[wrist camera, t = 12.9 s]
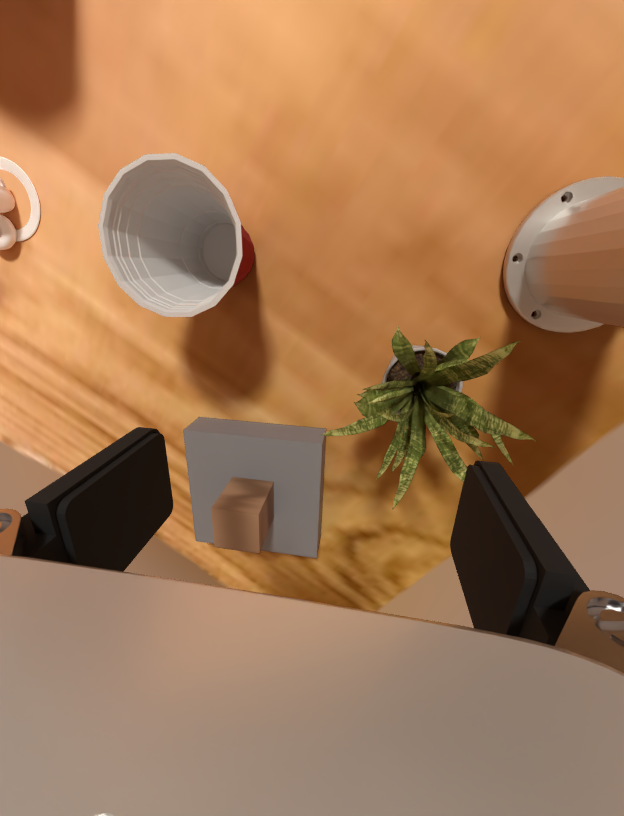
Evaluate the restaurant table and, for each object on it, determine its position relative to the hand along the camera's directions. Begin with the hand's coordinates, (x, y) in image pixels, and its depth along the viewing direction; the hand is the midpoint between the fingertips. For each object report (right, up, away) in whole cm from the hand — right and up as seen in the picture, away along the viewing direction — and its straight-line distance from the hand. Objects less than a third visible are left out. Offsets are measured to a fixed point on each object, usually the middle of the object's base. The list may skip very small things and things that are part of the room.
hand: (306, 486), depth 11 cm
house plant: (+10, +6, +27) cm, 29 cm away
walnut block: (-7, -8, +31) cm, 32 cm away
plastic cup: (-8, +19, +25) cm, 32 cm away
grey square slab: (-6, -7, +34) cm, 36 cm away
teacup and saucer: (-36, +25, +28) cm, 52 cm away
